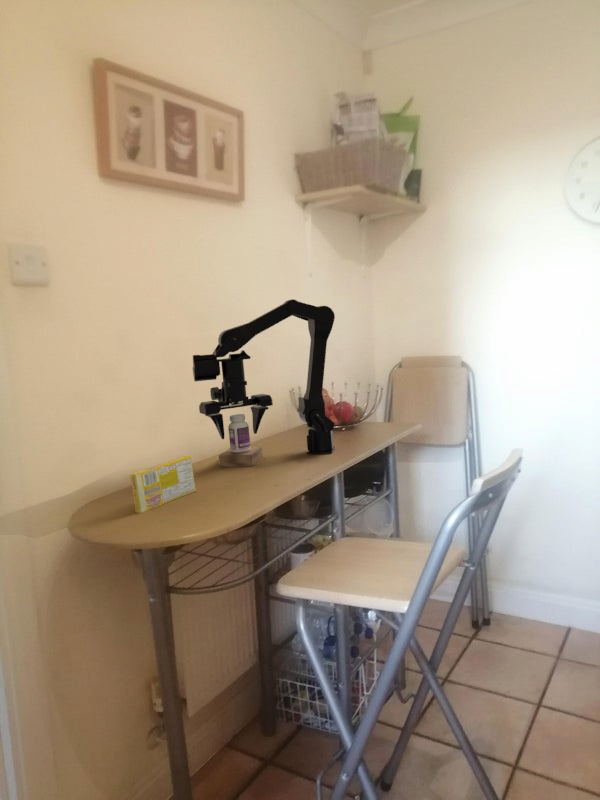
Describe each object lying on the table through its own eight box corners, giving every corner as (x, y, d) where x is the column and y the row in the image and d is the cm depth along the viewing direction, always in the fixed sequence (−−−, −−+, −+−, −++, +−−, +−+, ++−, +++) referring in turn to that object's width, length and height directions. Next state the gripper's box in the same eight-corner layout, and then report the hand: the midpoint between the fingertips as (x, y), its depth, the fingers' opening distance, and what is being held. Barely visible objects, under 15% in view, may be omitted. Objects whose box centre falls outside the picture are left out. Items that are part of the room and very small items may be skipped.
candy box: (189, 491, 139) (185, 455, 138) (196, 491, 138) (192, 455, 137) (134, 512, 126) (129, 473, 125) (141, 513, 125) (136, 474, 124)
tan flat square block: (262, 457, 167) (261, 446, 167) (252, 465, 158) (251, 454, 158) (230, 458, 169) (229, 447, 169) (219, 466, 160) (218, 455, 160)
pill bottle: (252, 448, 166) (249, 412, 164) (248, 452, 160) (245, 416, 159) (232, 449, 166) (229, 414, 165) (228, 453, 161) (225, 417, 160)
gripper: (254, 372, 172) (259, 427, 174) (190, 380, 164) (195, 437, 166) (271, 374, 162) (275, 432, 164) (203, 382, 154) (209, 443, 156)
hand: (239, 436), depth 163 cm, fingers open, 9 cm apart
